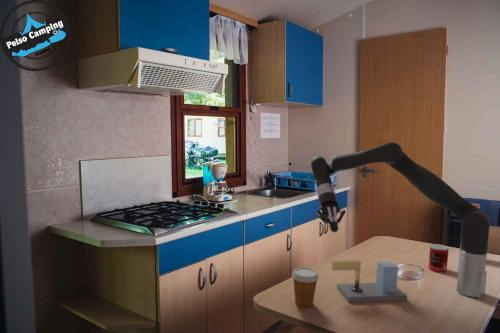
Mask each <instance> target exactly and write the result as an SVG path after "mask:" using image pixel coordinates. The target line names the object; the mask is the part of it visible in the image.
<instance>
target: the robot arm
mask: <svg viewBox="0 0 500 333" xmlns="http://www.w3.org/2000/svg"><path fill="white" fill-rule="evenodd" d="M331 158H332V159H331V161H330V162H328V161H327V160H326V158H325V157H323V156H321V155H320V156H318V155H317V156H314V157H313V159H312V160H311V162H310V165H311V166H310V167H311V170H312V174H313V176H314V180H315V186H316V189H317V198H318V202H319V206H320V208H319V210H317V211H316V214H315V215H316V216H317V217H318V219H320V220H321V221H322V222H323V223H324V224H327V225H329V229H330V231H331V232H332V233H337V232H338V230H339V226H338V224H340V223H341V221H342V220H343V217H344V216H345V214H346V213H347V212H346V210H342V209H341V207H340V206H339V203H338V198H337V195H336V190H335V188H334V186H333V181H332V177H331V175H333V174H335V173H337V172H340V171H342V172H343V171H348V170H352V169H356V168H359V167H362V166H366V165H370V164H376V163H384V164H386V165H388V166H389V167H391V168H392V169H394V170H395V171H397V172H398V173H400V175H402V176H403V177H405V179H406V180H408V182H410V184H411V185H412V186H413V187H415V189H417V190H418V191H419V192H420V193H421V194H423V195H424V196H425V197H426V198H427V199H429V200H431V201H432V202H433V203H435V204H436V205H439V206H440V207H442V208H444V209H446V210H447V211H449V212H450V213H452V214H453V215H455V216H456V217H457V218H458V219H459V220H460V221H461V228H460V244H461V246H460V244H459V253H460V256H459V258H458V259H459V260H458V270H457V280H456V292H457V291H458V292H459V293H458V292H457V293H458V294H460V293H461V294H460V295H462V294H463V295H462V296H465V295H466V296H465V297H468V296H471V297H470V298H474V297H477V298H476V299H479V298H480V297H481V298H482V297H484V296H485V295H484V294H486V286H487V285H486V284H487V275H488V273H487V271H486V267H487V257H488V245H489V236H490V225H491V219H490V218H491V217H490V216H489V215H488V214H487V213H486V212H485V211H483V210H482V209H480V208H477V207H475V206H474V205H472V204H471V202H470V201H468V200H466V199H465V198H463V197H462V195H460V194H459V193H458V192H457V191H456V190H455V189H454V188H452V187H451V186H450V185H449V184H448V183H447V182H445V181H444V180H443V179H442V178H440V177H439V176H438V175H437V174H435V173H434V172H432V171H431V170H429V169H427V168H425V167H424V166H422V165H420V164H418V163H416V161H414V160H412V158H410V157H409V156H408V155H407V154H406V153H405V152H404V151H403V148H402V147H401V145H400V144H398V143H397V142H391V141H389V142H386V143H384V144H381V145H378V146H375V147H371V148H368V149H366V150H365V149H364V150H361V151H355V152H350V153H345V154H344V153H343V154H339V155H335V156H333V157H331ZM338 215H339V217H338ZM483 295H484V296H483ZM481 298H480V299H481Z"/></svg>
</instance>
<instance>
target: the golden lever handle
mask: <svg viewBox="0 0 500 333" xmlns="http://www.w3.org/2000/svg"><path fill="white" fill-rule="evenodd" d="M361 266H362V263H361V261H360V260H358V259H357V260H355V259H354V260H351V259H350V260H347V259H346V260H330V268H329V269H330V270H331V271H332V272H333V271H338V272H339V271H341V272H342V271H355V272H354V282H353V283H354V288H355V289H359V283H360V279H361V276H360V275H361Z"/></svg>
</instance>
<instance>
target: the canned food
mask: <svg viewBox="0 0 500 333" xmlns="http://www.w3.org/2000/svg"><path fill="white" fill-rule="evenodd" d="M428 256H429V258H428V269H429V270H430V271H431V272H435V273H439V272H444V273H447V269H448V261H449V247H448V246H446V245H444V244H438V243H433V244H430V246H429V255H428Z"/></svg>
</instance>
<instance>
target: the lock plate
mask: <svg viewBox="0 0 500 333" xmlns="http://www.w3.org/2000/svg"><path fill="white" fill-rule="evenodd" d="M354 283H355V282H353V283H337V285H336V289H337V291H339V293H340V294H341V295H342V296H343V298H344V299H345V300H346V302H348V303H367V302H368V303H369V302H371V303H372V302H393V301H394V302H397V301H399V302H400V301H402V302H404V301H407V300H408V295H407V294H406V293H405V292H404V291H403V290H401V289H400V288H399V287H398V286H397V287H396V292H381V291H380V290H379V289H378V288H377V287H376V282H364V283H363V282H361V283H360V282H359V289H355V288H354Z"/></svg>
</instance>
